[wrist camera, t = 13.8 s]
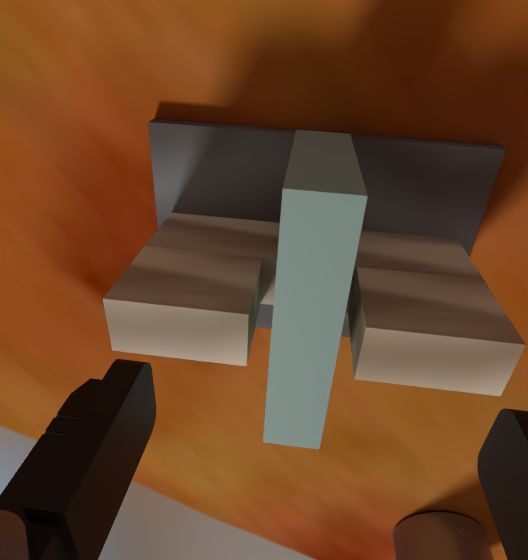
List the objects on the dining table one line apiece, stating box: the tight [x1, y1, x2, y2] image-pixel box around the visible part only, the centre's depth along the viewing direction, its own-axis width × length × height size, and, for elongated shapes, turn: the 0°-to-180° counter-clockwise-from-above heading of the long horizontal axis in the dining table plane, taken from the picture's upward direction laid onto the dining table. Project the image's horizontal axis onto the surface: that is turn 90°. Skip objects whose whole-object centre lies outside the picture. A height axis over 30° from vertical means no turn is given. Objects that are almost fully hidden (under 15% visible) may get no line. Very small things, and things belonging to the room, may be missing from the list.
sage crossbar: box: [263, 130, 368, 449], centre depth 23 cm, size 14×3×10 cm, turn 177°
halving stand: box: [103, 119, 526, 396], centre depth 23 cm, size 14×20×11 cm
